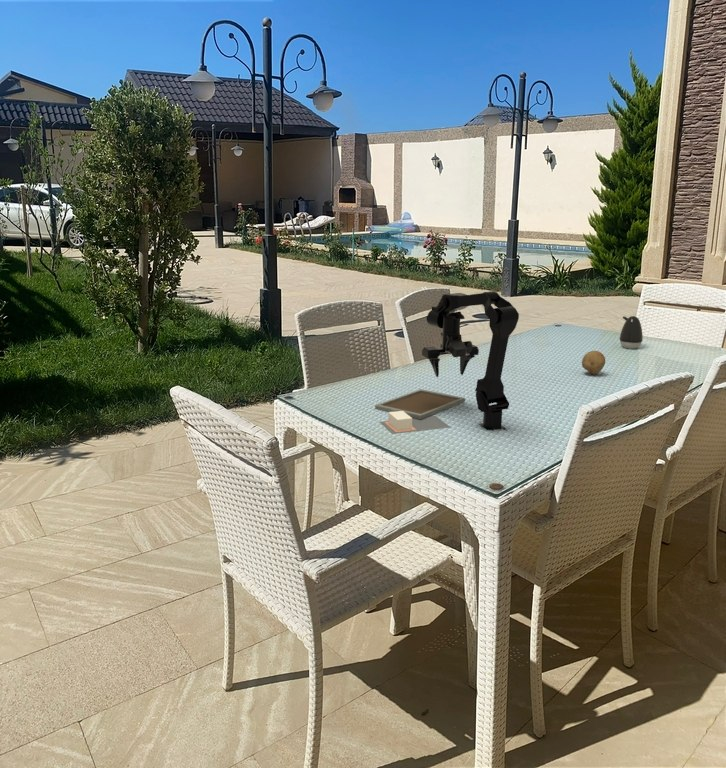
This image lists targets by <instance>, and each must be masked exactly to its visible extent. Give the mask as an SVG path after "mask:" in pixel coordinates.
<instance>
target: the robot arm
mask: <svg viewBox="0 0 726 768" xmlns="http://www.w3.org/2000/svg"><path fill="white" fill-rule="evenodd" d="M481 305H482V306H483V309H484V315H486V317H487V318H488V319H489V323H488V325H489V328H490V330H491V333H492V335H491V336H492V337H491V342H490V347H489V353H488V357H487V364H486V369H485V374H484V377H483V378H480V379H477V380H476V387H475V389H474V392H475V398H476V403H477V404H476V405H477V410H479V411H480V413H483V415H482V416H483V417H482V423H479V424H478V425H479V426H480V427H482V428H483V429H485V430H487V431H494V430H504V431H505V430H506V427H505V426H503V425H502V421H503V411H504V410H508V409H509V408H510V407H509V406H510V402H509V400H508V398H507V397H506V395H505V388H504V387H505V386H504V384H503V381H502V374H503V367H504V364H505V358H506V352H507V347H508V343H509V338H510V336H511V335H512V333H513V332H514V331H515V329H516V328H517V326H518V325H517V324H518V322H519V318H520V314H519V312H518V310H517V308H515V307H514V305H513V304H512V303H511V302H510V301H509V300H506V299H505V298H503V297H502V296H501V295H500V294H499V293H498V292H497V291H494V290H493V291H491V290H490V291H484V292H481V293H471V294H466V293H462V292H454V293H444V294H442V296H441V299H440V300H439V301H438V304H437V305H436V306H435V305H434V306H431V310H430V311H429V312H428V313H427V316H426V323H427V324H428V325H429V326H432V327H436V328H439V329H442V332H440V337H441V336H442V342H441V343H440V348H436V347H435V346H424V347H423V348H422V350H421V356H423V357H424V358H426V359H427V360H429V363H430V365H431V367H432V369H433V372H434V375H435V377H436V378H439V375H440V374H439V373H440V372H439V371H440V370H439V368H440V366H439V364H440V363H439V362H440V360H441V359H440V358H439V357H440V355H451V356H452V357H453V358H459V373H460V374H459V375H460V376H463V375H464V373H465V370H466V368H467V365H469V361H470V360H472V359H473V358H475V357H476V356H479V352H480V350H479V347H478V346H477V345H474V344H473V342H472V341H471V340H465V341H463V337H462V334H461V320H464V319H466V318H465V316H464V315H463V314H462V312H461V311H462V310H464V309H466V308H467V307H471V306H481ZM492 305H494V307H493V306H492Z"/></svg>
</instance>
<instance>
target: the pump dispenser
mask: <svg viewBox="0 0 726 768" xmlns="http://www.w3.org/2000/svg"><path fill="white" fill-rule="evenodd" d="M622 319H623V320H625V322H624V323H623V325H622V328H621V330H620V335H619V341H620V344H621V347H623V348H625V349H627V350H636V349H638V348H640V346H641V344H642V342H643V340H644V338H643V337H644V335H643V328H642V323H641V321H640V320H639V318H638V317H637V316H635V315H632V316H631V315H630V316H629V317H626V316H625V315H624V316H622Z"/></svg>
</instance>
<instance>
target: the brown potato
mask: <svg viewBox="0 0 726 768" xmlns="http://www.w3.org/2000/svg"><path fill="white" fill-rule="evenodd" d="M605 364H606V357H605V355H604V354H603V353H602V352H601V351H598V350H590V351H588V352H587V353H585V354H584V355H583V357H582V360H581V366H582V368H583V369H584V370H585V371H587V372H589V373H590V374H591V375H597V374H599V373H600V372H601V371H602V370H603V369H604V366H605Z"/></svg>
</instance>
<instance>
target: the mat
mask: <svg viewBox="0 0 726 768" xmlns="http://www.w3.org/2000/svg"><path fill="white" fill-rule="evenodd" d="M379 424H381V426H383V427H384V428H385V429H386V430H387V431H389V433H390V434H391V435H397V434H406V433H413V432H422V431H430V430H439V429H440V430H441V429H447V428H448V429H449V428H451V427H452V426H450V425H449V424H448V423H446V422H445V421H443V420H442V419H440V418H439V417H438V416H436V415H431V416H429V417H426V418H424V419H421V420H419V419H415V418H412V429H406V430H396V429H395V428H394V427H393V426H392V425H390V424H389V423H388V420H385V421H379Z"/></svg>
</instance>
